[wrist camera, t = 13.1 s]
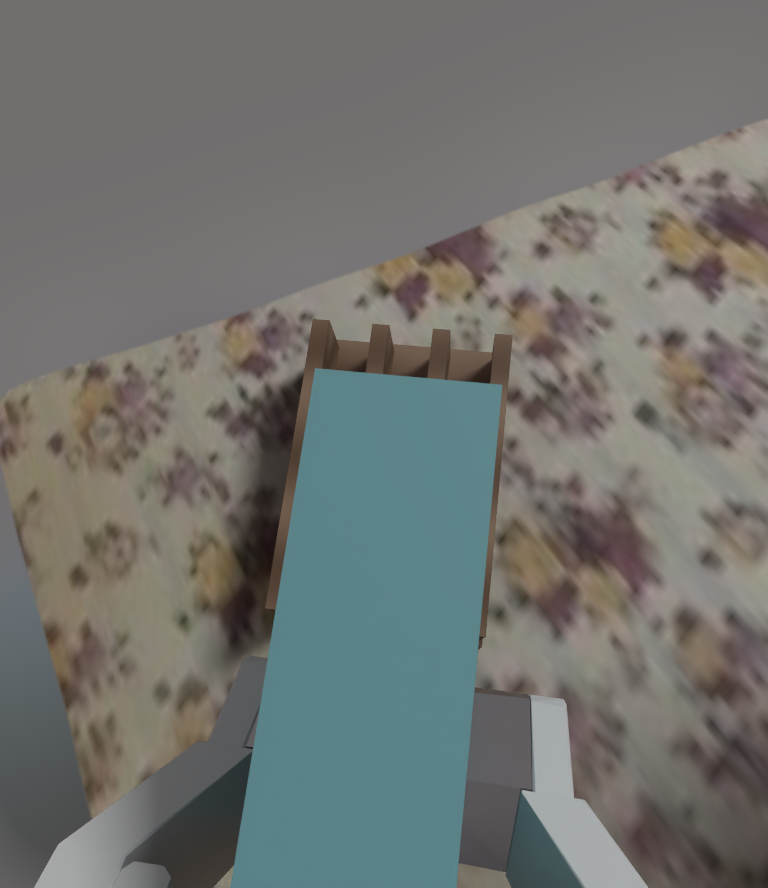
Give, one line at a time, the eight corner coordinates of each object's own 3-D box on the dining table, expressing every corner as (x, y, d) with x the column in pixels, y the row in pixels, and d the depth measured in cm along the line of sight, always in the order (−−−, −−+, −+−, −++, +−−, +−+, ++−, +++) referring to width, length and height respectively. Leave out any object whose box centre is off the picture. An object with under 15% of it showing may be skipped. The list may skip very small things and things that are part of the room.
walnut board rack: (329, 347, 49) (314, 311, 44) (506, 362, 48) (513, 327, 43) (285, 621, 45) (263, 617, 39) (480, 647, 43) (484, 646, 38)
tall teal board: (404, 553, 21) (314, 368, 7) (469, 561, 20) (502, 384, 7) (376, 785, 19) (193, 1106, 6) (446, 795, 19) (430, 1156, 5)
